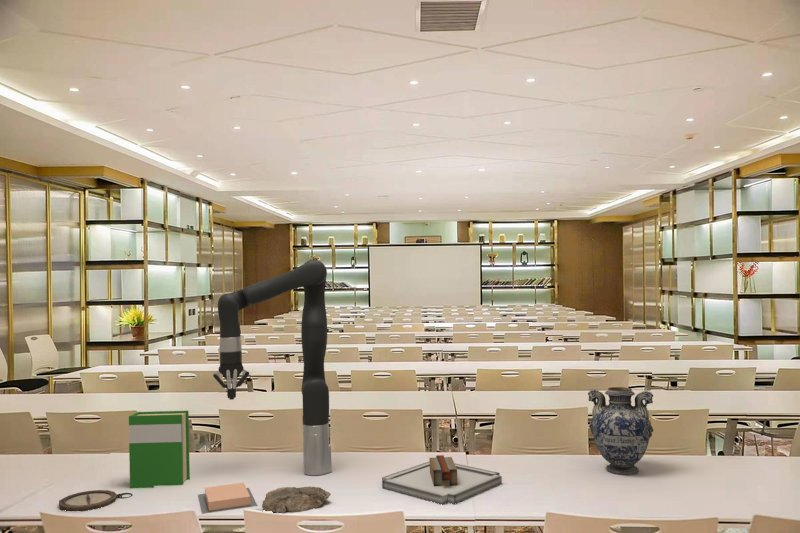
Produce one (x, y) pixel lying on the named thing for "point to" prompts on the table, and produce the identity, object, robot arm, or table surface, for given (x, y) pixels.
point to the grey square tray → (441, 481)
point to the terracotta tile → (227, 496)
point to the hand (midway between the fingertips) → (231, 399)
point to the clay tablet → (294, 499)
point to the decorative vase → (621, 428)
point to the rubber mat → (205, 509)
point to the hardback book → (159, 448)
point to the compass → (89, 500)
